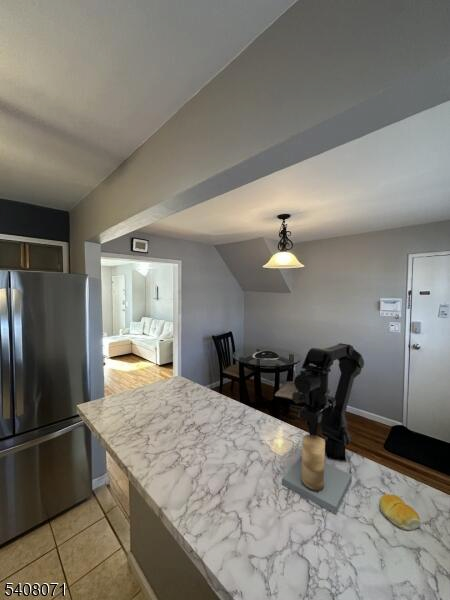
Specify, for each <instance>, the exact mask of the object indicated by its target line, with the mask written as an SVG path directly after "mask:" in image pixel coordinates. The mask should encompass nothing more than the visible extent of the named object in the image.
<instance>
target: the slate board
mask: <svg viewBox="0 0 450 600" xmlns="http://www.w3.org/2000/svg"><path fill="white" fill-rule="evenodd" d="M352 475H353V474H351V473H348V472H346V471H344V470H341V469H339V468H337V467H335V466H332V465H331V464H328V463H327V462H324V488H323V490H322V491H320V492H318V493H317V492H313V491H310V490H308V489H306V488H305V487H304V486H303V485H302V482H301V477H302V455H301V456H300V457H299V458H298V459H297V461H295V462H294V463H293V465H292V466H291V467H290V468H289V470H287V472H286V473H285V474H284V475H283V476H282V478H281V485H283V486H285V487H286V488H288V489H289V490H291V491H293V492H295V493H297V494H299V495H300V496H302V497H304V498H305V499H307V500H309V501H311V502H312V503H315V504H316V505H318V506H320V507H322V508H324V509H325V510H327V511H329V512H330V513H333V514H334V515H337V513H338V510H339V509H340V507H341V504H342V502H343V500H344V498H345V496H346V493H347V491H348V490H349V487H350V485H351V484H352V481H353V476H352Z"/></svg>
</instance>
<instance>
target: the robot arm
mask: <svg viewBox="0 0 450 600" xmlns="http://www.w3.org/2000/svg"><path fill="white" fill-rule="evenodd" d="M334 361H337V362H339V363H338V368H339V371H340V376H339V380H338V383H337V386H336V387H337V388H336V391H335V393H334V394H335V395H334V396H331V395H329V394H330V391H331V390H330V389H329V373H331V372H332V369H331V366H333V365H334ZM364 366H365V360H364V358H363V356H362V354H361V353H360V352H358V351H357V350H355V348H354V347H353V345H351V344H348V343H342V342H340V343H337V344H336V345H332V346H330V347H327V348H321V347H320V348H319V347H312V348H310V349H309V350H308V352H307V353H306V356H305V358H304V361H303V364H302V366H301V369H302V370H300V374H298V375H297V376H296V377H295V378H294V380H293V381H294V387H295V389H296V390H297V391H294V392H292V395H291V396H292V397H291V400H292V401H293V402H294V403H295V404H300V403H301V404H302V403H305V406H303V407H302V408H301V409H300V410H298V418H299V419H301V420H303V421H304V422H305V423H306V425H307V429H308V432H309V433H308V434H309V435H315V436H317V433H318V430H319V428H320V429H321V430H320V431H321V434H322V435H321V436H322V437H325V438H324V441H325V454H326V458H327V459H331V460H335V461H336V460H337V461H341V462H347V458H346V446H347V445H348V446H349V445H350V443H351V439H352V435H351V433H350V432H349V430H348V425H349V424H348V422H347V421H348V420H347V418H346V412H347V407H348V403H349V401H350V395H351V391H352V388H353V384H354V380H355V379H356V378H357V376H359V375H360V374H361V372H362V369H363V368H364ZM307 405H308V406H307ZM310 406H311V407H310Z"/></svg>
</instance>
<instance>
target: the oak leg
mask: <svg viewBox="0 0 450 600" xmlns="http://www.w3.org/2000/svg"><path fill="white" fill-rule="evenodd" d="M301 443H302V446H301V456H302V477H301V482H302V485H303V486H304V487H305V488H306V489H308V490H310V491H313V492H317V493H318V492H320V491H322V490H323V488H324V463H325V460H326V459H325V454H326V453H325V439H323V438H322V437H320V436H318V435H316V436H315V435H310V434H305V435H304V436H302V442H301Z"/></svg>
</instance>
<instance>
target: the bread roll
mask: <svg viewBox="0 0 450 600" xmlns="http://www.w3.org/2000/svg"><path fill="white" fill-rule="evenodd" d="M378 502H379V503H378V507H379V510H380V512H381V514H382V515H383V516H384V517H385V518H386V519H388V520H389V522H390V523H392V524H393V525H394V526H395V527H398V528H399V529H402V530H405V531H411V530H412V531H414V530H416V529H418V528H420V525H421V520H420V515H419V514H418V512H416V510H415V509H414V508H413V507H412V506H410V505H409V504H406V502H405V501H404V500H403V499H402V498H400V497H399V496H397V495H394V494H390V493H389V494H387V493H386V494H383V495H381V497H380V499H379V501H378Z"/></svg>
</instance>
